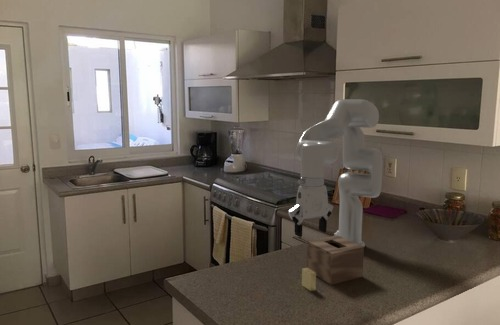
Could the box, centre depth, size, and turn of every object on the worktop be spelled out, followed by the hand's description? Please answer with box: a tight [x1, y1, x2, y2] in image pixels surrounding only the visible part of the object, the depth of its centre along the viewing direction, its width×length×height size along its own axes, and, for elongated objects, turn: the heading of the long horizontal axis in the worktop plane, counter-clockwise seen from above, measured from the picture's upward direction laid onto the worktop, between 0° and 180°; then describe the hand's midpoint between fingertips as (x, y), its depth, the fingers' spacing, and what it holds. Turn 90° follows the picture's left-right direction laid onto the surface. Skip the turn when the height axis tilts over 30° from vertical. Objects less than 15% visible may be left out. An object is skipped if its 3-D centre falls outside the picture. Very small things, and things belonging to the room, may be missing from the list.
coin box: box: [306, 235, 365, 286], centre depth 149 cm, size 14×14×11 cm
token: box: [301, 266, 317, 292], centre depth 138 cm, size 5×2×6 cm, turn 28°
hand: (310, 233), depth 136 cm, fingers open, 9 cm apart
